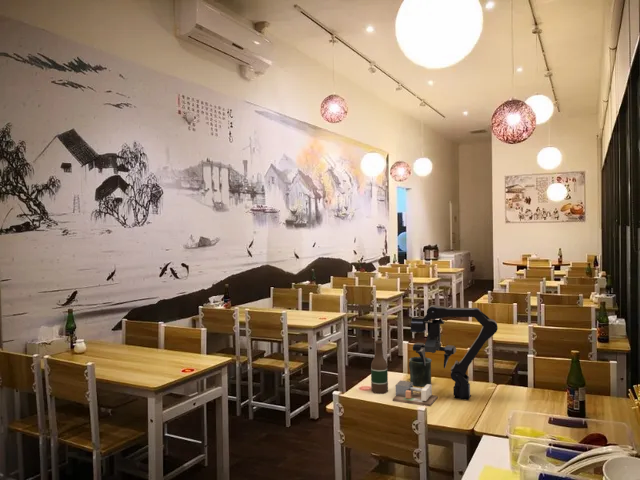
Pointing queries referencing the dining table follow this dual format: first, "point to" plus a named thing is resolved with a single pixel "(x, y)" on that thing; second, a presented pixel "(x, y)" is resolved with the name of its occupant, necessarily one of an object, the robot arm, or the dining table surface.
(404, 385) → the notched steel block
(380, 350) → the beer bottle
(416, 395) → the base
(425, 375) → the mug
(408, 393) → the peach cube
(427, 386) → the plunger
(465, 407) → the dining table surface
